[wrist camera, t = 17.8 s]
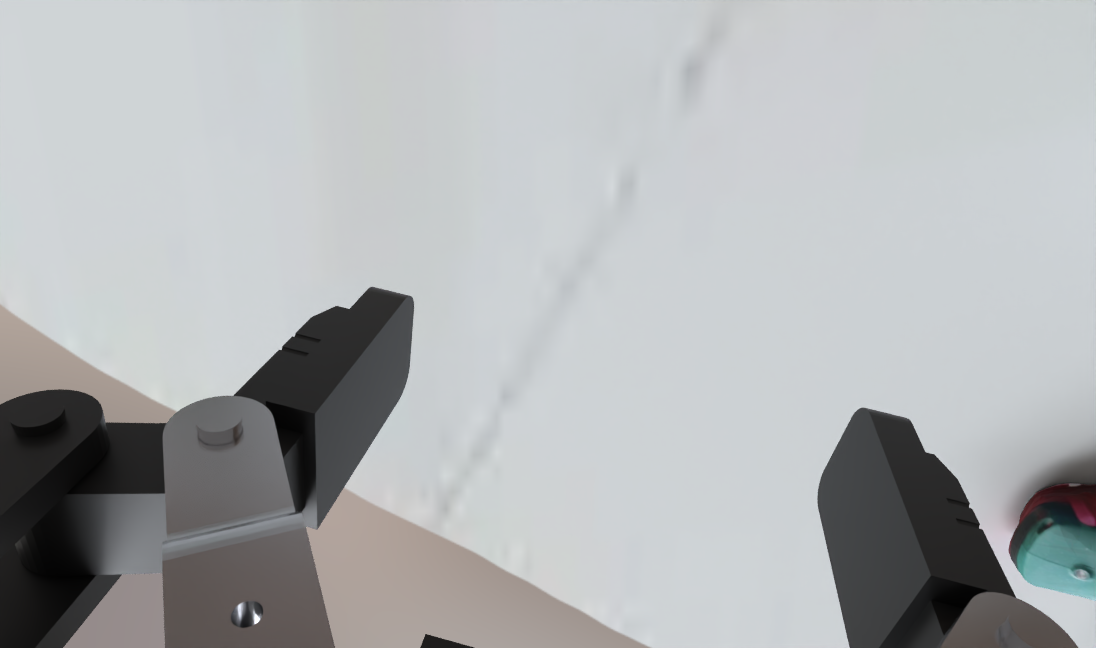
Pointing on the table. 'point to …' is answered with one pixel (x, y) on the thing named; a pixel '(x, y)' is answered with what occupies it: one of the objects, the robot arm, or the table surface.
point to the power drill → (1058, 540)
